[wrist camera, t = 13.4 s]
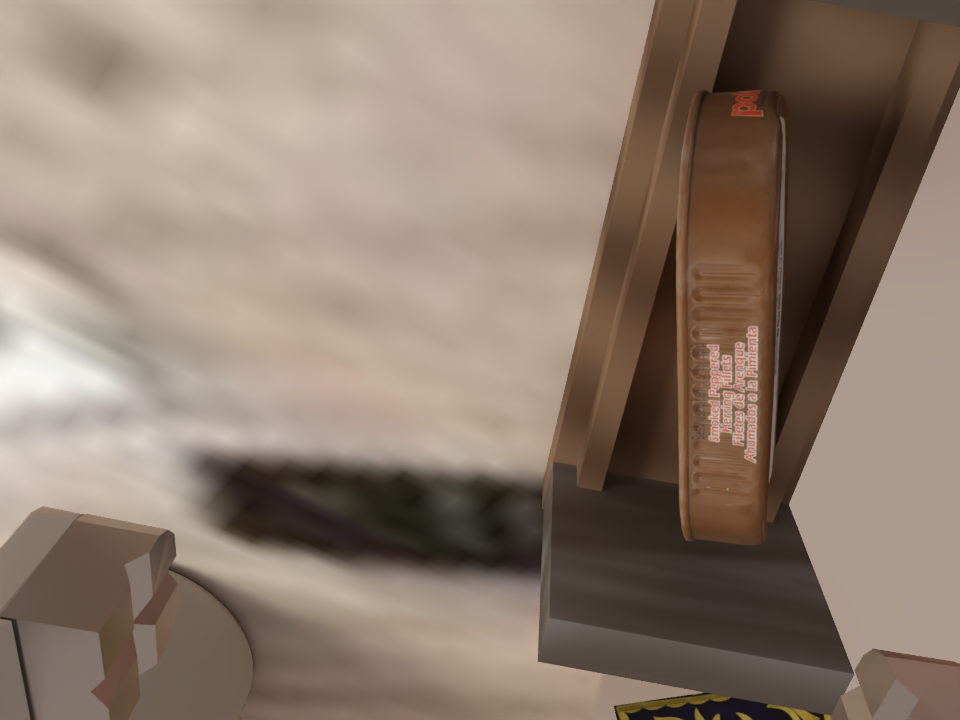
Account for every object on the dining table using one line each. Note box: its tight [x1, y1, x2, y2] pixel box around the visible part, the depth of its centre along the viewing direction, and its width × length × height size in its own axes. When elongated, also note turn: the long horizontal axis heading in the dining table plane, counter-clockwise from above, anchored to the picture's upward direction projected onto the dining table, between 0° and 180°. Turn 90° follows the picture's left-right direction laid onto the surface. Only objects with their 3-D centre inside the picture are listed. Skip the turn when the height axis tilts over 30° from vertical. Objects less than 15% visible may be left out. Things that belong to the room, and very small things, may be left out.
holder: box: [538, 0, 960, 715], centre depth 27 cm, size 24×10×11 cm, turn 171°
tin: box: [676, 89, 789, 545], centre depth 27 cm, size 15×3×8 cm, turn 7°
